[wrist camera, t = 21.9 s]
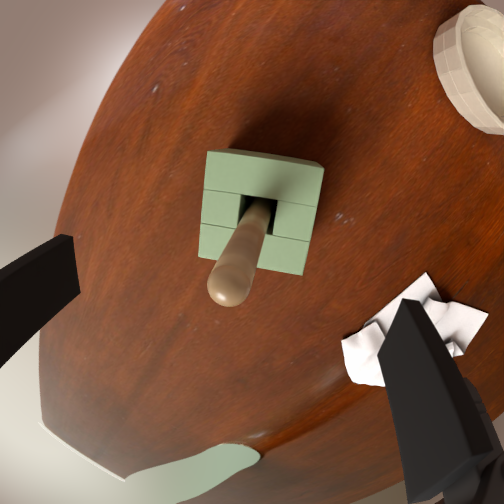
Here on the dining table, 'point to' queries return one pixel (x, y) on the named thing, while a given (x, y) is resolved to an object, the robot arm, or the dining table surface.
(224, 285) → the stick
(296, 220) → the stand
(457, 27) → the bowl
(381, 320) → the cloth
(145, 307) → the dining table surface
